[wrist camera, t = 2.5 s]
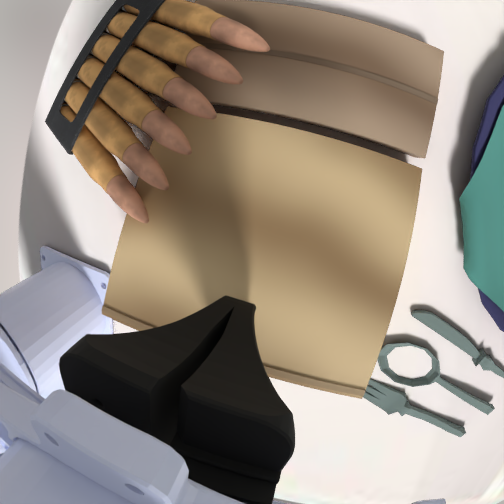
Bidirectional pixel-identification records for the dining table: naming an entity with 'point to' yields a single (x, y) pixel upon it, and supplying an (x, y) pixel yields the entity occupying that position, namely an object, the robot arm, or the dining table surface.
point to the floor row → (328, 73)
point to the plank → (273, 244)
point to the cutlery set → (475, 265)
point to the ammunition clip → (132, 98)
